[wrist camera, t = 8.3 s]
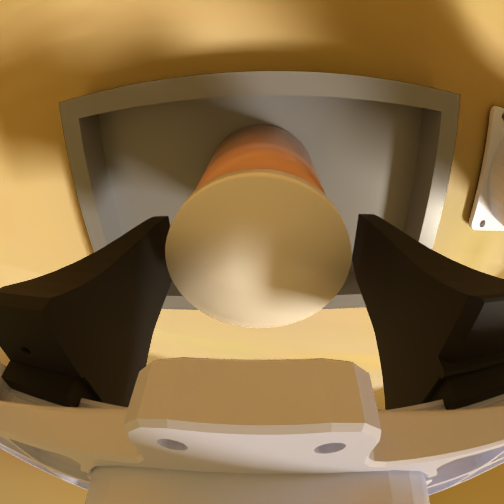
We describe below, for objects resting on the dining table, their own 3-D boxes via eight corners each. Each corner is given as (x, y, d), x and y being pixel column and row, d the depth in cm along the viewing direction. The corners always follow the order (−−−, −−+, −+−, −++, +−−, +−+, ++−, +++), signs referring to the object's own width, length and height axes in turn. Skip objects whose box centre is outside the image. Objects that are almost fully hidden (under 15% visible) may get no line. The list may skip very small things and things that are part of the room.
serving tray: (434, 88, 12) (460, 94, 10) (400, 278, 19) (413, 303, 17) (85, 95, 13) (58, 102, 11) (126, 280, 19) (113, 306, 17)
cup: (319, 120, 13) (363, 177, 7) (314, 223, 16) (338, 326, 10) (199, 123, 13) (148, 183, 7) (211, 224, 16) (183, 326, 11)
